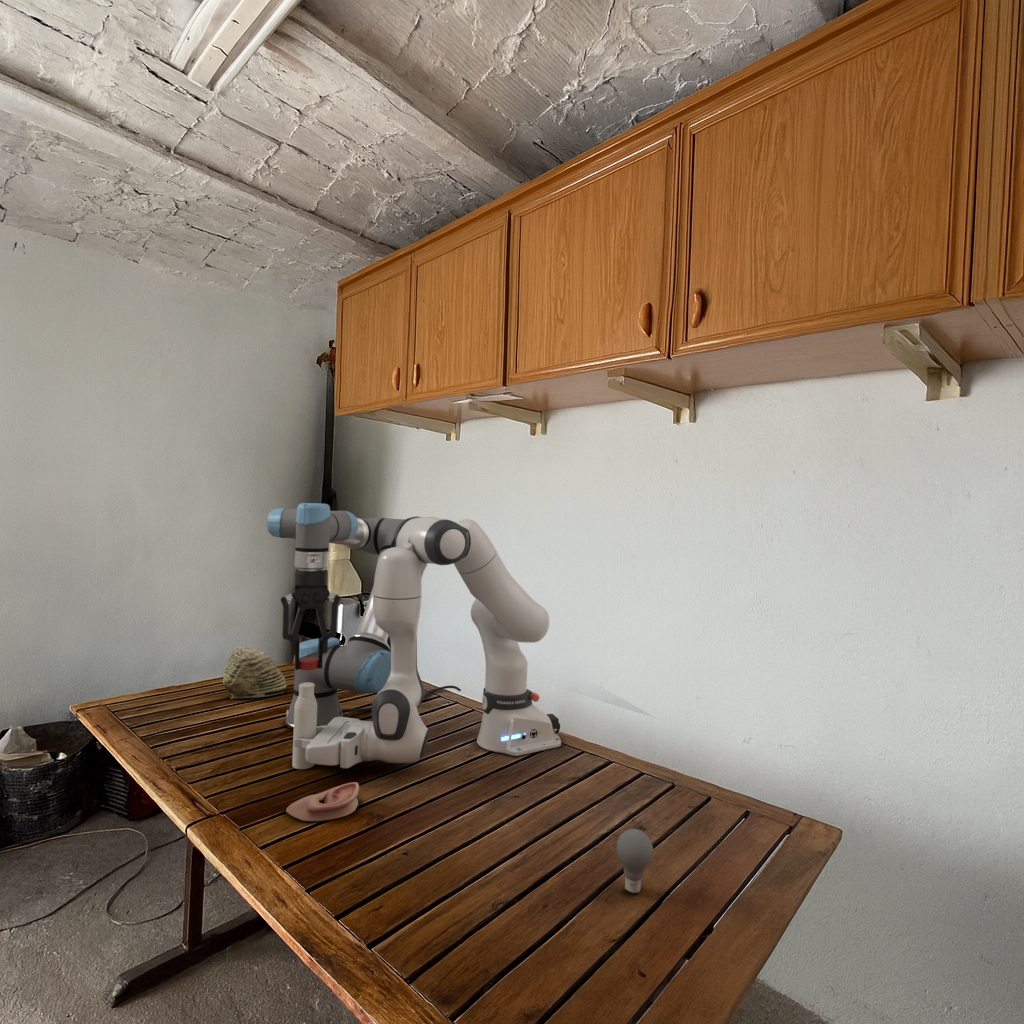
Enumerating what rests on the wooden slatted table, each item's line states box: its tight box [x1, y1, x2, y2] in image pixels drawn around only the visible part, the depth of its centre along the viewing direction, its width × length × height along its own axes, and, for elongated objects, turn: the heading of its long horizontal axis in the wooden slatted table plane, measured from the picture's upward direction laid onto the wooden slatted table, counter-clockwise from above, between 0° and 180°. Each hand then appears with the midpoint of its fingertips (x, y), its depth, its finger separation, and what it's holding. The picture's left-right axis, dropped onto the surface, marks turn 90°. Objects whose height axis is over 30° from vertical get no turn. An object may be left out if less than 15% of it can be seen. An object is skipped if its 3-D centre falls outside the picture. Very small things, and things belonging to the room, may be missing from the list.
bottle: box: [291, 682, 317, 770], centre depth 149 cm, size 5×5×19 cm
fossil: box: [222, 646, 288, 699], centre depth 198 cm, size 9×18×15 cm, turn 132°
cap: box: [299, 657, 319, 670], centre depth 149 cm, size 5×5×2 cm
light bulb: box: [615, 828, 654, 894], centre depth 106 cm, size 6×6×10 cm
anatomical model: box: [285, 781, 360, 822], centre depth 129 cm, size 13×4×12 cm
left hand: (308, 667), depth 149 cm, fingers closed on cap, 4 cm apart
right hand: (301, 736), depth 149 cm, fingers closed on bottle, 5 cm apart
